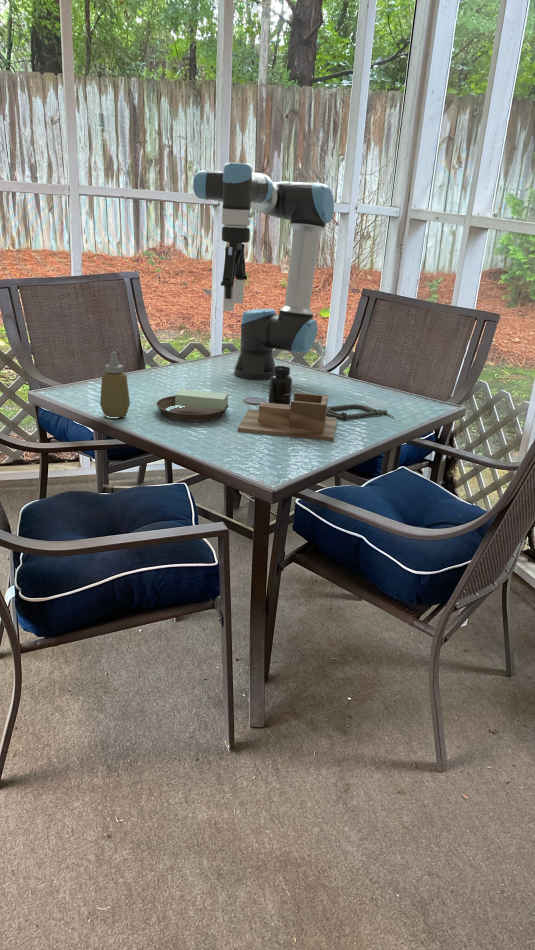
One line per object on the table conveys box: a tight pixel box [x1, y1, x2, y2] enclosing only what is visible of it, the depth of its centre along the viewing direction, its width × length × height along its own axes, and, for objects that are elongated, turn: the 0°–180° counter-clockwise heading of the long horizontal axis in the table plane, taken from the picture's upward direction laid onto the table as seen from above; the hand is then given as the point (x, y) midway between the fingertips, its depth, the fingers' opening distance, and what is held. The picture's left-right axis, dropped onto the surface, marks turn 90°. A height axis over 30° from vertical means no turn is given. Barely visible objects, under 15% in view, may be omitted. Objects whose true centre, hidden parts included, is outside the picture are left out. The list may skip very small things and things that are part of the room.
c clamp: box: [326, 403, 395, 422], centre depth 201 cm, size 20×17×3 cm
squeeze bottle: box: [99, 351, 131, 418], centre depth 182 cm, size 8×8×18 cm
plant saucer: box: [156, 395, 229, 423], centre depth 192 cm, size 21×21×3 cm
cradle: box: [237, 391, 338, 442], centre depth 185 cm, size 18×26×8 cm
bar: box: [174, 388, 229, 410], centre depth 190 cm, size 6×14×3 cm, turn 82°
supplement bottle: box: [267, 365, 293, 405], centre depth 203 cm, size 7×7×12 cm
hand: (233, 306), depth 187 cm, fingers open, 13 cm apart
